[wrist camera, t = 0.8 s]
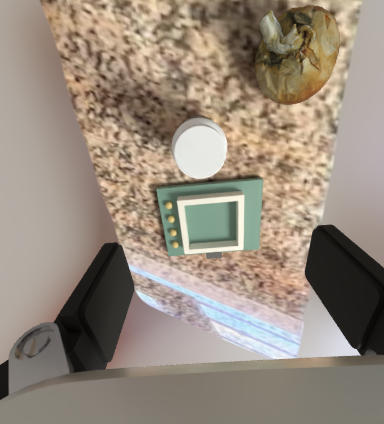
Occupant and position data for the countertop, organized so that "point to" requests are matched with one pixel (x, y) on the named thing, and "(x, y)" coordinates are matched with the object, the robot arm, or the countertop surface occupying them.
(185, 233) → the board
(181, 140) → the pill bottle
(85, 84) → the countertop surface
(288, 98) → the onion
